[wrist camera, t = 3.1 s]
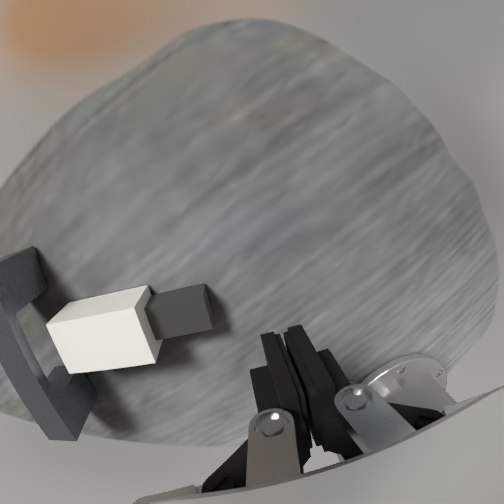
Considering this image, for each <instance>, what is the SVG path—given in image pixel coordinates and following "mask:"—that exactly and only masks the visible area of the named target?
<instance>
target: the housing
mask: <svg viewBox="0 0 504 504" xmlns="http://www.w3.org/2000/svg"><path fill="white" fill-rule="evenodd" d="M46 289H48V287H47V285H46V282H45V279H44V276H43V273H42V270H41V267H40V264H39V261H38V258H37V254H36V251H35V248H34V246H32V247H29V248H27V249H24V250H21V251H18V252H15V253H12V254H10V255H7V256H5V257H3V258H1V259H0V363H1V365H2V366H3V368H4V370H5V372H6V374H7V376H8V377H9V379H10V381H11V383H12V384H13V386H14V388H15V389H16V391H17V393H18V394H19V396H20V398H21V399H22V401H23V402H24V404H25V406H26V407H27V409H28V410H29V412H30V413H31V415H32V416H33V418H34V419H35V421H36V422H37V423H38V425H39V426H40V428H41V429H42V430H43V432H44V433H45V435H46V436H47V437H48V439H49V440H64V441H77V440H78V437H79V435H80V433H81V430H82V428H83V426H84V424H85V421H86V419H87V417H88V415H89V413H90V410H91V408H92V406H93V404H94V402H95V400H96V397H97V394H96V393H95V391H94V389H93V387H92V385H91V383H90V382H89V380H88V378H87V376H86V374H85V372H83V373H73V374H69V372H68V370H67V368H66V366H59V367H54V369H53V370H52V372H51V373H50V374H49V376H48V377H47V378H46V377H45V375H44V373H43V371H42V369H41V367H40V365H39V364H38V362H37V360H36V358H35V356H34V354H33V352H32V350H31V348H30V346H29V343H28V341H27V339H26V337H25V335H24V333H23V330H22V328H21V326H20V324H19V321H18V319H17V317H16V313H17V312H18V311H19V310H21V309H22V308H23V307H24V306H26V305H27V304H28V303H30V302H31V301H32V300H33V299H35V298H36V297H37V296H39V295H40V294H41V293H42V292H44V291H45V290H46Z"/></svg>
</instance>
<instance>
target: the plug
mask: <svg viewBox="0 0 504 504" xmlns="http://www.w3.org/2000/svg"><path fill="white" fill-rule="evenodd" d="M46 326H47V328H48V331H49V333H50V335H51V337H52V340H53V342H54V344H55V346H56V348H57V350H58V352H59V354H60V356H61V358H62V360H63V362H64V364H65V366H66V368H67V370H68V372H69V374H73V373H83V372H92V371H101V370H109V369H117V368H125V367H132V366H139V365H146V364H152V363H156V360H157V357H158V354H159V350H160V347H161V344H162V341H163V339H166V338H171V337H177V336H182V335H187V334H192V333H197V332H202V331H207V330H211V329H213V311H212V308H211V304H210V301H209V297H208V294H207V290H206V287H205V283H204V284H200V285H195V286H191V287H186V288H182V289H177V290H173V291H168V292H164V293H159V294H155V295H151V293H150V290H149V287H148V285H146V286H141V287H137V288H132V289H128V290H123V291H119V292H114V293H110V294H105V295H101V296H96V297H92V298H87V299H83V300H78V301H74V302H69V303H68V304H67V305H66V306H65V307H64V308H63V309H61V310H60V311H59V312H58V313H57V314H56V315H55V316H54V317H53V318H52V319H51V320H50V321H49V322H48V323H47V324H46Z"/></svg>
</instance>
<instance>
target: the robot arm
mask: <svg viewBox="0 0 504 504" xmlns="http://www.w3.org/2000/svg"><path fill="white" fill-rule="evenodd" d="M284 339H285V344H286V348H285V345H284V343H283V340H282V338H281V336H280V334H276V335H275V334H274V332H270V333H266V334H262V335H261V340H262V344H263V348H264V352H265V357H266V361H267V366H263V367H259V368H255V369H251V370H250V375H251V380H252V384H253V389H254V394H255V399H256V404H257V409H258V414H256V415H255V416H254V417H253V418H252V420H251V421H250V424H249V431H248V439H247V440H246V441H245V442H244V443H243V444H242V445H241V446H240V447H239V448H238V449H237V450H236V451H235V453H233V455H231V456H230V457H229V458H228V459H227V460H226V461H225V462H224V463H223V464H222V465H221V466H220V467H219V468H218V469H217V470H216V471H215V472H214V473H213V474H212V475H211V476H209V477H208V479H206V481H205V482H204V483H203V485H200V486H197V487H195V486H194V485H190V486H187V487H183V488H179V489H175V490H172V491H168V492H163V493H159V494H155V495H150V496H146V497H143V498H140V499H137V500H136V501H135V502H134V503H133V504H504V386H501V387H499V388H496V389H494V390H492V391H490V392H488V393H483V394H481V395H478V396H476V397H473V398H470V399H467V400H465V401H462V402H459V403H457V402H456V401H454V399H453V398H452V397H451V396H450V395H449V394H448V393H447V392H446V391H445V389H446V384H447V375H446V372H445V369H444V367H443V366H442V364H441V363H440V362H438V361H437V360H436V359H435V358H434V357H432V356H429V355H426V354H411V355H407V356H403V357H400V358H397V359H395V360H393V361H391V362H388V363H387V364H385V365H383V366H382V367H380V368H378V369H377V370H375V371H374V372H373V373H371V374H370V375H369V376H367V377H366V378H365V379H364V380H363V381H362V382H361V383H360V384H354V385H351V384H350V382H349V381H348V379H347V377H346V376H345V374H344V373H343V371H342V369H341V368H340V366H339V365H338V363H337V361H336V360H335V358H334V357H333V355H332V353H331V352H330V351H329V349H325V350H322V351H319V352H316V350H315V348H314V346H313V345H312V343H311V341H310V339H309V337H308V336H307V334H306V332H305V330H304V329H303V327H302V325H301V324H300V325H297V326H293V327H289V328H288V332H284ZM286 349H287V350H286ZM310 431H311V433H312V436H313V438H314V441H315V443H316V446H320V445H322V447H323V449H324V452H326V451H330V452H333V453H337V456H338V458H339V460H340V462H339V463H336V464H333V465H330V466H327V467H324V468H321V469H317V470H314V471H310V472H307V473H304V469H303V466H304V464H305V463H306V462H307V461H308V459H309V458H310V457H311V455H310V448H312V440H311V433H310Z"/></svg>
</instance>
